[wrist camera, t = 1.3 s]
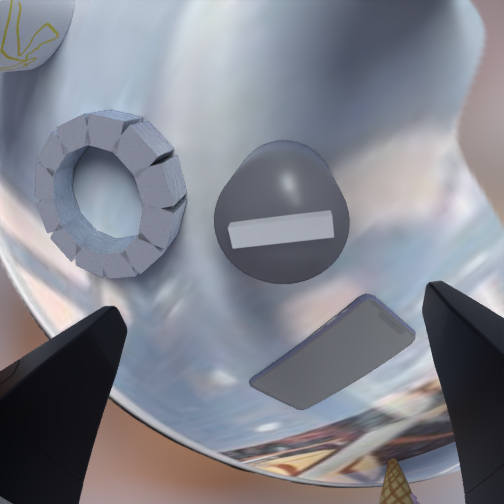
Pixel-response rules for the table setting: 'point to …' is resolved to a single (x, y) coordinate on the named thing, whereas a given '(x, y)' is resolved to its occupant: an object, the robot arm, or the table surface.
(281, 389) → the smartphone
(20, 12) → the grey cylinder
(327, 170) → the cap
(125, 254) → the segmented grey ring
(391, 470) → the ice cream cone
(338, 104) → the table surface
